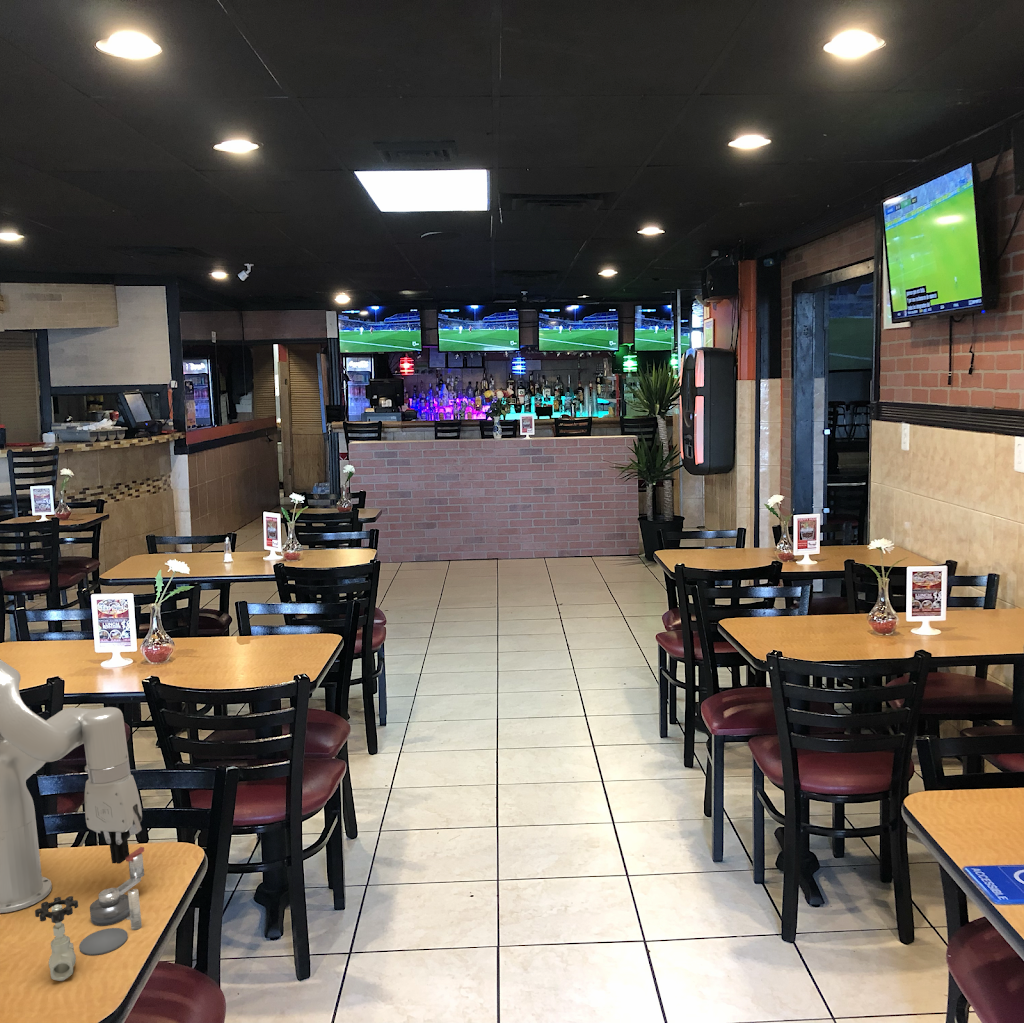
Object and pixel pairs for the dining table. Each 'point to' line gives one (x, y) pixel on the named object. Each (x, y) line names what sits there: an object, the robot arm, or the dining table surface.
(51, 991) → the dining table surface
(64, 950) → the valve
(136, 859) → the crank
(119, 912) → the crank housing
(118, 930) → the mat
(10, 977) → the dining table surface
